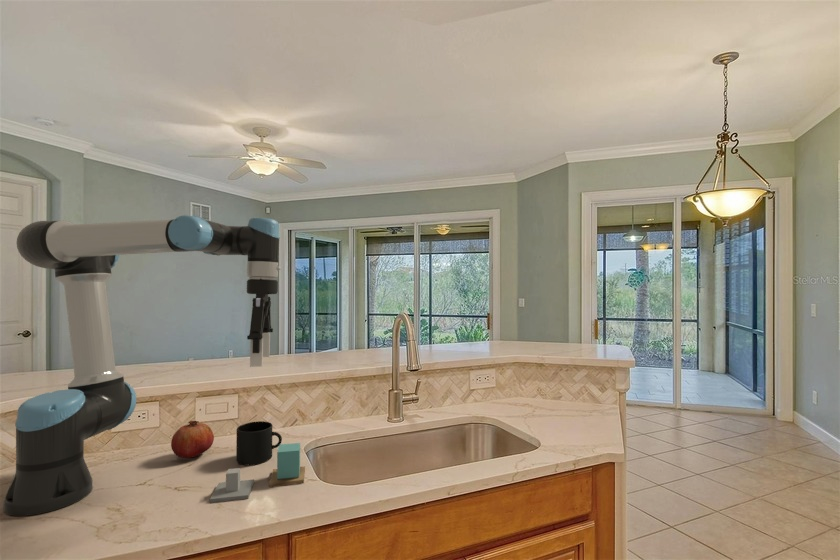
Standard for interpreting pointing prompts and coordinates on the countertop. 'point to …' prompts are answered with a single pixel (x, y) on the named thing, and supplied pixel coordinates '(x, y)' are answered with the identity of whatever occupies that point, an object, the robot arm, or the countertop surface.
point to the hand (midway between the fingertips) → (260, 361)
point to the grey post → (232, 487)
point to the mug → (255, 443)
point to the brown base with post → (286, 479)
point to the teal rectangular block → (288, 461)
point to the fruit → (192, 440)
